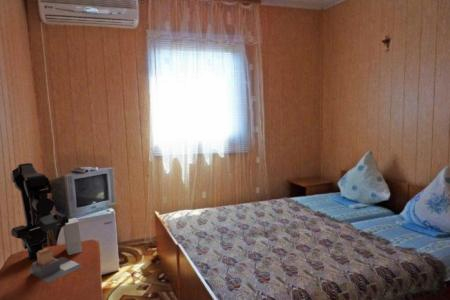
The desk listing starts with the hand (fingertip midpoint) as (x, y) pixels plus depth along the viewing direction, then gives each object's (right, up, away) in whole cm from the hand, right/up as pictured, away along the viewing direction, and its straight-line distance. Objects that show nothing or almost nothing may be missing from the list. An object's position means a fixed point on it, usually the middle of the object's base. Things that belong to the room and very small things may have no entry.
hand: (43, 246), depth 120 cm
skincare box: (+2, -9, +20) cm, 22 cm away
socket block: (+3, -11, +3) cm, 12 cm away
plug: (0, -10, +1) cm, 10 cm away
